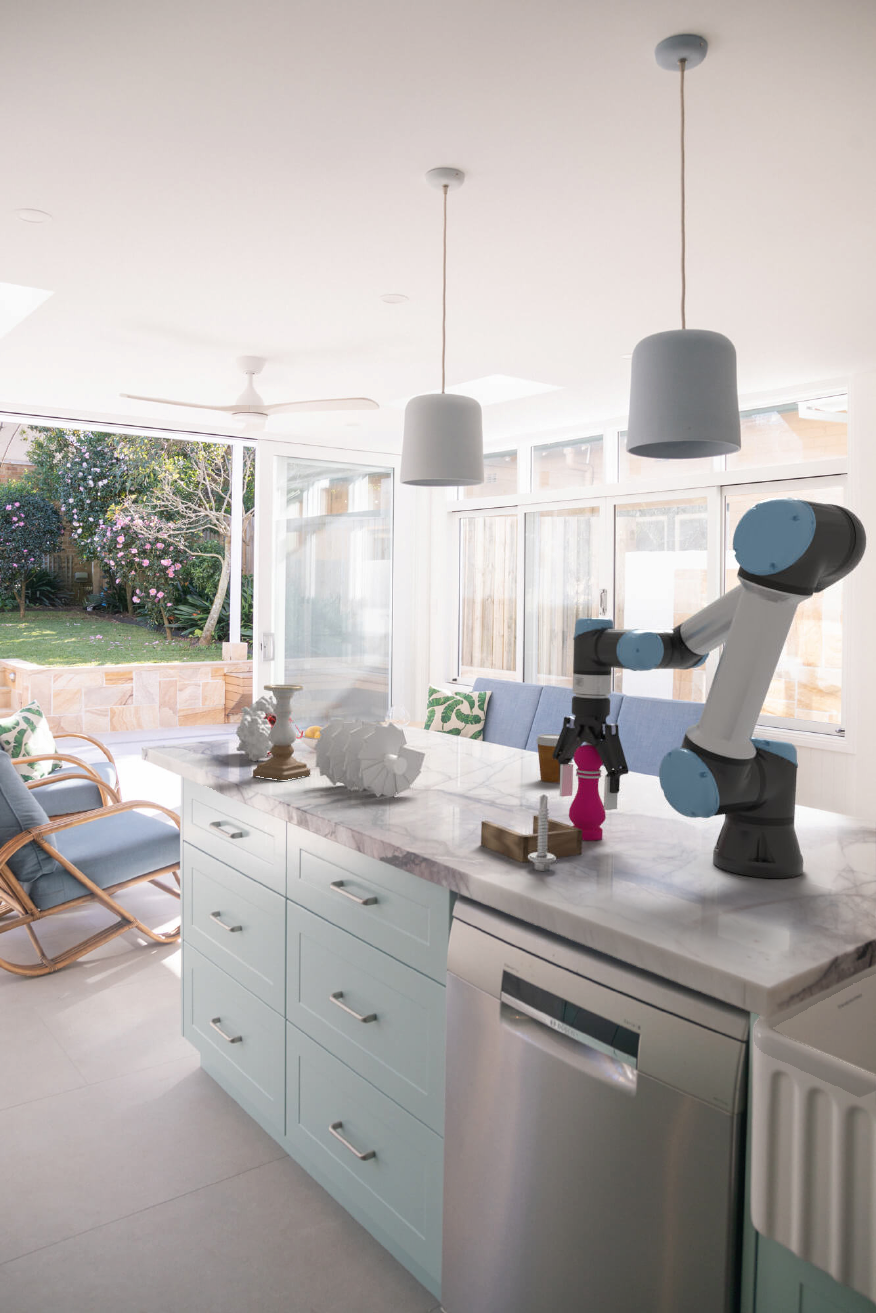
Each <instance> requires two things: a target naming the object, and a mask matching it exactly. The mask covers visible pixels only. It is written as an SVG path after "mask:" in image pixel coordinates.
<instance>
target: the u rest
mask: <svg viewBox="0 0 876 1313" xmlns="http://www.w3.org/2000/svg"><path fill="white" fill-rule="evenodd" d="M532 818H533V819H532V820H533V821H532V833H531V834H524V833H520V832H517V831H515V830H513V829H510V828H507V827H504V826H502V825H499V824H496V823H493V822H491V821H489V820H482V821H481V826H480V827H481V829H480V830H481V831H480V833H481V835H480V845H481V846H483V847H486V848H487V849H490V850H492V851H494V852H497V853H499V854H502V855H504V856H506V857H508V858H511V859H514V860H516V861H518V862H520V863H523V864H524V863H529V862H532V861H531V860H529V859H528V855H530V854H531V853H534V852H537V851H538V849H537V848H538V846H537V845H538V842H537V841H538V839H537V838H538V832H537V831H538V826H539V825H538V824H539V822H538V821H539V819H538V818H539V815H538V814H534V815H533V816H532ZM548 820H549V821H548V822H547V823H548V825H547V826H548V828H547V829H548V831H547V833H548V835H547V836H548V838H547V840H548V841H547V843H548V845H547V847H548V848H547V850H548V851H547V853H550V854H553V855H554V856H555V857H556V859H557V858H562V857H563V858H564V857H569V856H576V855H577V856H578V855H582V851H583V840H582V829H579V828H576V827H573V826H574V825H569V824H566V823H563V822H561V821H557V820H555V819H552V818H549V817H548Z"/></svg>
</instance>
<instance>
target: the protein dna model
mask: <svg viewBox="0 0 876 1313" xmlns="http://www.w3.org/2000/svg"><path fill="white" fill-rule="evenodd" d="M275 706H276V699H275V697H274V696H273V695H270V696H269V698H268V697H267V696H264V695H262V696H261V697H260V698H259V699H258V700H256V701H255V702H254V703H251V704H250V705H249V707H250V708H248V706H244V707H241V709H240V711H241V713H243V715H242V716H241V720H240V723H239V725H238V726H237V728H236V732H235V734H236V736H237V737H238V740H239V741H240V742H239V743H238V746H237V747H236V751H237V752H244V753H245V755H249V756H248V759H249V760H251V761H252V762H254V761H256V762H258V761H259V760H261V759H262V758H267V757H268V755H270V753H271V748H272V747H273V746H274V744H272V743H271V742H270V741H269V738H268V736H269V732H270V731H271V729H272V727H273V726H274V724H275V722H276V715H275V712H273V709H274V708H275ZM289 721H290V723H291V722H292V723H294V721H293V719H291V716H290V717H289ZM292 723H291V724H292ZM294 726H295V728H296V729H297V730H298V732H299V734H301V735H300V736H299V737H298V735H297V734H296V736H297V737H296V740H299V739H301V738H302V737H303V736H304V730H302V731H300V730H299V728H298V726H297V725H294ZM267 754H268V755H267ZM257 760H258V761H257Z"/></svg>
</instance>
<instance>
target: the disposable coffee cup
mask: <svg viewBox="0 0 876 1313" xmlns="http://www.w3.org/2000/svg"><path fill="white" fill-rule="evenodd" d="M559 736H560V734H557V733H543V734H542V733H541V734H538V735H537V738H536V739H535V741H536V744H537V750H538V753H537V754H538V764H539V772H540V773H539V774H540V781H542V782H545V783H555V784H557V783H559V784H560V778H559V763H558V760H556V759H553V757H552V755H553V752H554V750H555V747H556V744H557V741H558V739H559ZM559 753H561V752H559Z"/></svg>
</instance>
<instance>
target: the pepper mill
mask: <svg viewBox="0 0 876 1313" xmlns="http://www.w3.org/2000/svg"><path fill="white" fill-rule="evenodd" d="M584 743H585V744H582V745H581V746H580V747H579V748H577V750H576V751H575V753H574V757H573V763H574V764H575V765H576V766H577V768H575V772H576V773H575V776H576V777H577V782H578V783H577V789H576V790H577V791H576V794H575V796H574V798H573V800H572V802H571V804H570V807H569V811H568V818H569V820H570V821H571V823H573V825H572V826H573V827H576V828H579V829H582V841H592V842H593V841H599V840H602V839H603V831H604V830H603V828H602V827H601V826H602V825H603V824H604V822H605V821H606V816H607V815H606V810H604V802H603V801H602V799H601V795H600V792H599V781H600V778H602V770H601V767H602V766H604V764H603V762H602V760H601V758H600V756H599V753H598V751H597V749H596V748H595V747H594V746H593V745H592V744H589V743H587V742H584Z"/></svg>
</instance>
